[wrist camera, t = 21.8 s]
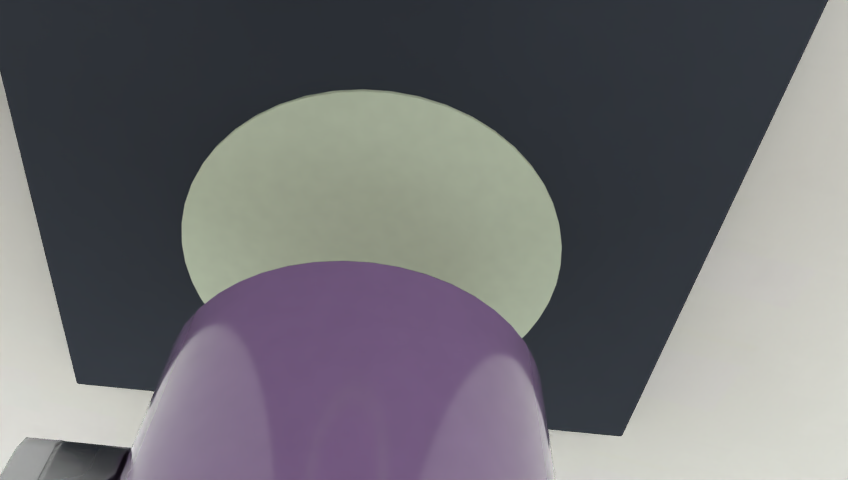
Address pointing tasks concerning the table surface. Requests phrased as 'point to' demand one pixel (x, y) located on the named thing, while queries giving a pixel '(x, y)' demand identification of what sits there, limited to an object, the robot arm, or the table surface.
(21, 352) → the table surface
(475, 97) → the mat
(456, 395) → the dish
